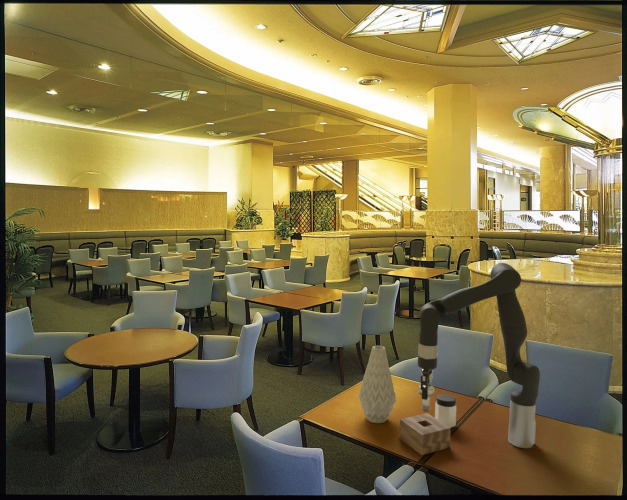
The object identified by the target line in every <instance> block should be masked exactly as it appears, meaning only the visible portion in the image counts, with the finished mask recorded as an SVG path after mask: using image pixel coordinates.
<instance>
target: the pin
mask: <svg viewBox="0 0 627 500" xmlns="http://www.w3.org/2000/svg"><path fill="white" fill-rule="evenodd" d="M423 387H426V386H425V385H423ZM420 388H421V384H419V385H418V394H419V395H420V396H422V390H421V389H420ZM434 395H435V386H434V385H432V384H431V385H429V386H428V399H427V400H425V399H422V398H421V411H422V412H424V413H428V412H430V410H431V409H430V407H431V397H432V396H434Z"/></svg>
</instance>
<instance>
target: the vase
mask: <svg viewBox="0 0 627 500" xmlns="http://www.w3.org/2000/svg"><path fill="white" fill-rule="evenodd" d="M390 370H391V369H390V366H389V360H388V356H387V351H386V347H385V346H384V345H375V346H372V347H371V352H370V355H369V358H368V363H367V366H366V369H365V372H364V374H363V375H364V376H363V378H362V382H361V386H360V389H359V393H358V399H359V401H360V405H361V409H362V412H363V414H364V416H365V418H366V420H367V421H369V422H370V423H374V424H383V423H385V422H386V421H387V420H388V418H389V417H390V415H391V412H392V411H393V409H394V405H395V403H396V402H397V397H396V391H395V387H394V382H393V378H392V373H391V371H390Z"/></svg>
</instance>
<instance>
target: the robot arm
mask: <svg viewBox="0 0 627 500" xmlns="http://www.w3.org/2000/svg"><path fill="white" fill-rule="evenodd" d="M521 283H522V276H521V274H520V273H519V271H518V270H517V269H515V268H514V267H513V266H512V265H510V264H508V263H506V262H498V263H496V264H494V266H493V267H492V269H491V270H490V279H489V280H488V281H486V282H483V283H481V284H478V285H474V286H469V287H465V288H461V289H457V290H455V291H454V292H452V293H449V294H447V295H445V296H443V297H442V298H438V299H436V300H433V301H430V302H427V303H426V304H424V305H423V306H421V308H420V309H419V315H420V325H419V326H420V330H419V335H418V336H419V338H418V347H417V348H418V349H417V350H418V351H417V367H419V368H421V369H422V370H421V372H420V385H421V388H420V389H421V390H422V395H421V400H422V399H425V400H427V399H428V386H429V385H431V386H432V381H433V379H434V378H433V374H434V370H435V369H436V368H438V356H439V351H438V350H439V349H438V348H439V347H438V340H439V339H438V338H439V337H438V331H439V323H440V317H443V316H444V315H450V314H451V315H452V314H453V313H456V312H458V311H461V310H463V309H465V308H467V307H469V306H472V305H474V304H477V303H479V302H481V301H485V300H487V299H491V298H494V297H495V298H496V303H497V309H498V318H499V326H500V331H501V335H502V339H503V344H504V352H505V366H506V374H507V377H508V379H509V380H510V381H511V382H513V383H515V384H517V385H520V386H522V389H521V390H514V391H512V392H511V393H510V401H509V419H508V437H507V440H508V442H509V444H510V445H513V446H514V447H517V448H521V449H531V448H533V446H534V445H535V443H536V430H537V429H536V428H537V427H536V426H537V421H536V405H537V404H536V403H537V399H538V395H539V390H540V389H539V387H540V381H541V373H540V369H539V367H538V366H537V365H535V364H532V363H529V362H526V361H523V360H522V356H521V351H520V350H521V347H522V346H523V344H524V342H525V341H526V339H527V336H528V328H527V323H526V322H527V321H526V317H525V314H524V312H523V309H522V306H521V304H520V301H519V299H518V296H517V293H516V290H517V289H518V288H519V287H520V285H521ZM423 385H425V386H426V387H423Z"/></svg>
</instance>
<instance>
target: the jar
mask: <svg viewBox="0 0 627 500" xmlns="http://www.w3.org/2000/svg"><path fill="white" fill-rule="evenodd" d="M434 402H435V406H434V418H436V419H437V420H439V421H440V422H442V423H444V424H445V425H447V426H448V427H450V428H451V429H452V428H454V427H456V425H457V424H456V423H457V422H456V421H457V404H456V403H457V399H456V396H453V395H451V394H449V393H440V394H439V393H438V394H437V395H436V401H434Z"/></svg>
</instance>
